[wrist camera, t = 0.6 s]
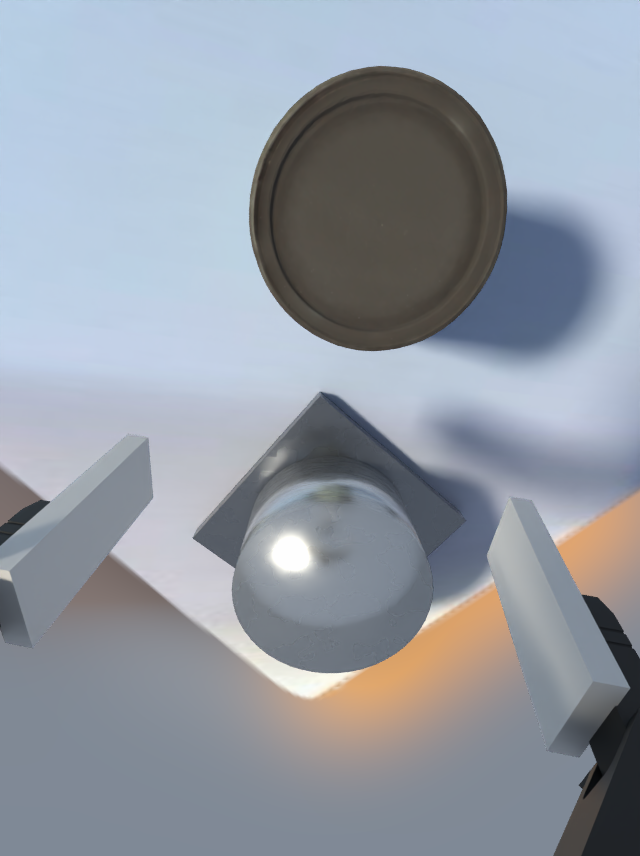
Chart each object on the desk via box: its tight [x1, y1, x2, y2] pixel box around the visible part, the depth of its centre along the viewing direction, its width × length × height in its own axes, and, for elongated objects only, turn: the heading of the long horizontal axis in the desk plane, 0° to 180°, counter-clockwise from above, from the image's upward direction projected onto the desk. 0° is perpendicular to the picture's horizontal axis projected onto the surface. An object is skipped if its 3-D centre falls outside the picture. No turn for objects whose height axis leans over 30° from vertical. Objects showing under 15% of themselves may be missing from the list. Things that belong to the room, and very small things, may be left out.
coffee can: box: [249, 66, 507, 351], centre depth 24 cm, size 10×10×14 cm
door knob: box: [193, 392, 466, 673], centre depth 32 cm, size 16×16×10 cm
